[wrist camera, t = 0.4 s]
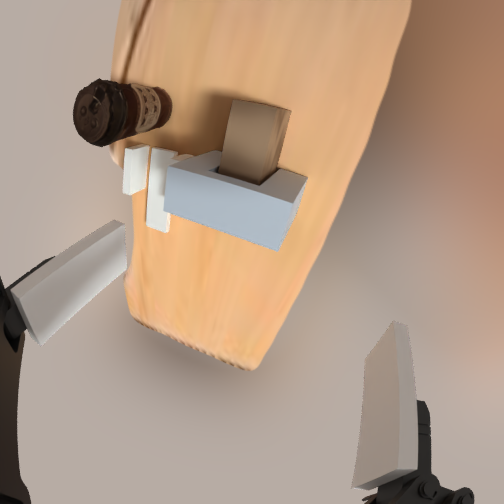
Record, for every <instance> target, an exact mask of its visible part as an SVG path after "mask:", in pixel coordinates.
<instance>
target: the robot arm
mask: <svg viewBox="0 0 504 504" xmlns="http://www.w3.org/2000/svg"><path fill="white" fill-rule="evenodd" d="M126 269H127V262H126V243H125V224H124V223H121V222H119V221H116V220H113V221H111V222H109V223H107V224H106V225H104V226H102V227H101V228H99V229H97V230H96V231H94V232H93V233H91V234H89V235H88V236H86V237H85V238H83V239H81V240H80V241H78V242H77V243H75V244H74V245H72V246H71V247H69V248H68V249H66V250H65V251H63V252H62V253H60V254H59V255H57V256H56V257H55V256H54V257H51V258H49V259H46V260H44V261H43V262H41V263H40V264H39V265H37V267H34V268H33V269H31V270H30V272H27V273H26V274H24V275H23V276H22V277H21V278H19V279H18V280H16V281H15V282H14V283H13V284H11V285H10V286H9V287H7V288H6V289H5V288H4V285H3V283H2V280H1V277H0V504H31V500H30V495H29V492H28V489H27V487H26V486H25V484H24V483H23V481H22V479H21V476H20V469H19V458H18V442H17V406H18V389H19V378H20V368H21V361H22V354H23V347H24V341H25V333H24V331H25V330H26V329H28V332H29V334H30V336H31V337H32V338H33V339H34V340H35V341H36V342H37V343H38V344H39V345H40V346H42V345H43V344H44V343H45V342H46V341H47V340H48V339H49V338H50V337H51V336H52V335H53V334H54V333H55V332H56V331H57V330H58V329H60V328H61V327H62V326H63V325H64V324H65V323H66V322H67V321H68V320H69V319H70V318H71V317H72V316H73V315H75V314H76V313H77V312H78V311H79V310H80V309H81V308H82V307H83V306H84V305H85V304H87V303H88V302H89V301H90V300H91V299H92V298H93V297H94V296H96V294H98V293H99V292H100V291H101V290H102V289H104V288H105V287H106V286H107V285H108V284H109V283H111V282H112V281H113V280H114V279H115V278H117V277H118V276H119V275H120V274H121V273H122V272H124V271H125V270H126ZM430 429H431V428H430V413H429V410H428V408H427V405H426V403H425V402H424V401H419V400H416V387H415V377H414V368H413V359H412V352H411V345H410V338H409V332H408V326H407V325H405V324H402V323H399V322H396V321H393V322H392V323H391V324H390V326H389V328H388V329H387V330H386V332H385V333H384V335H383V336H382V337H381V339H380V340H379V341H378V343H377V344H376V346H375V347H374V348H373V350H372V351H371V352H370V354H369V355H368V356H367V357H366V359H365V371H364V391H363V405H362V416H361V426H360V436H359V443H358V451H357V458H356V465H355V470H354V476H353V482H352V487H351V488H352V489H361V490H371V489H373V488H376V487H378V492H377V493H376V494H373V495H370V496H367V497H365V498H363V499H362V501H366V500H368V501H367V502H366V503H365V504H474V494H473V492H472V490H470V489H469V488H466V487H464V488H461V489H459V490H456V491H452V490H449V489H447V488H444V487H441V486H440V483H439V480H438V479H437V477H436V476H434V475H433V474H432V473H431V437H430V435H431V430H430Z"/></svg>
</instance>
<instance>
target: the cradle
mask: <svg viewBox="0 0 504 504" xmlns="http://www.w3.org/2000/svg"><path fill="white" fill-rule="evenodd" d="M149 147H150V145H145V144H140V145H136V146H132V147H128V148H125V157H124V174H123V193H125V194H128V195H131V194H134V193H136V192H138V191H140V190H142V189H144V188H146V177H147V166H148V156H149ZM192 157H195V156H193V155H189V154H183V155H179V156H178V152H177V151H172V150H168V149H164V148H159V147H153V148H152V153H151V163H150V173H149V185H148V199H147V217H146V226H149V227H151V228H154V229H156V230H159V231H162V232H164V233H167V232H168V231H169V228H170V216H171V214H170V213H168V212H165V211H163V208H164V197H165V187H166V178H167V169H168V166H169V165H172V164H175V163H177V162H180V161H183V160H186V159H189V158H192Z"/></svg>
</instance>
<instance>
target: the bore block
mask: <svg viewBox="0 0 504 504" xmlns="http://www.w3.org/2000/svg"><path fill="white" fill-rule="evenodd" d="M221 155H222V152H220V151H217V150H214V151H211V152H208V153H205V154H201V155H198V156H195V157H192V158H189V159H186V160H183V161H180V162H177V163H175V164H172V165H169V166H168V169H167V178H166V187H165V197H164V208H163V211H165V212H168V213H170V214H173V215H176V216H179V217H182V218H185V219H188V220H190V221H193V222H196V223H199V224H202V225H205V226H207V227H210V228H213V229H216V230H219V231H222V232H224V233H227V234H230V235H233V236H236V237H238V238H241V239H244V240H247V241H250V242H252V243H255V244H258V245H261V246H263V247H266V248H269V249H272V250H275V251H277V252H278V251H279V249H280V247H281V244H282V242H283V240H284V238H285V236H286V234H287V232H288V230H289V228H290V226H291V224H292V222H293V220H294V218H295V216H296V214H297V211H298V208H299V205H300V201H301V198H302V195H303V192H304V189H305V185H306V182H307V179H308V177H305V176H302V175H299V174H296V173H293V172H290V171H287V170H284V169H279V170H278V171H277V172H276V173H275V174H273V175H272V176H271V177H270V178H269V179H267V180H266V181H265V182H264V183H263V184H262V185H260V186H258V185H255V184H251V183H248V182H245V181H242V180H238V179H235V178H232V177H228V176H225V175H221V174H218V171H219V166H220V161H221Z"/></svg>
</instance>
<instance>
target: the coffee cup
mask: <svg viewBox="0 0 504 504" xmlns="http://www.w3.org/2000/svg"><path fill="white" fill-rule="evenodd" d="M171 112H172V101H171V98H170V96H169V94H168V93H167V92H166V91H165V90H164V89H161V88H159V87H154V88H151V87H144V86H141V85H137V84H119V83H117V82H113V81H108V80H101V79H100V78H99V79H97V80H96V81H94V82H92V83H91V84H90V85H89V86H87V87H84V88H83V90H81V91H79V93H78V95H77V97H76V101H75V104H74V109H73V120H74V125H75V127H76V130H77V132H78V134H79V135H80V136H81V137H82V138H83V139H85V140H86V141H87V142H89V143H90V144H93V145H96V146H100V147H103V146H106V145H109V144H111V143H113V142H115V141H118V140H121V139H124V138H127V137H130V136H134V135H136V134H138V133H142V132H147V131H150V130H152V129H155V128H160V127H162V126H163V125H164V124H165V123H166V122H167V121H168V120H169V118H170V116H171Z"/></svg>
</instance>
